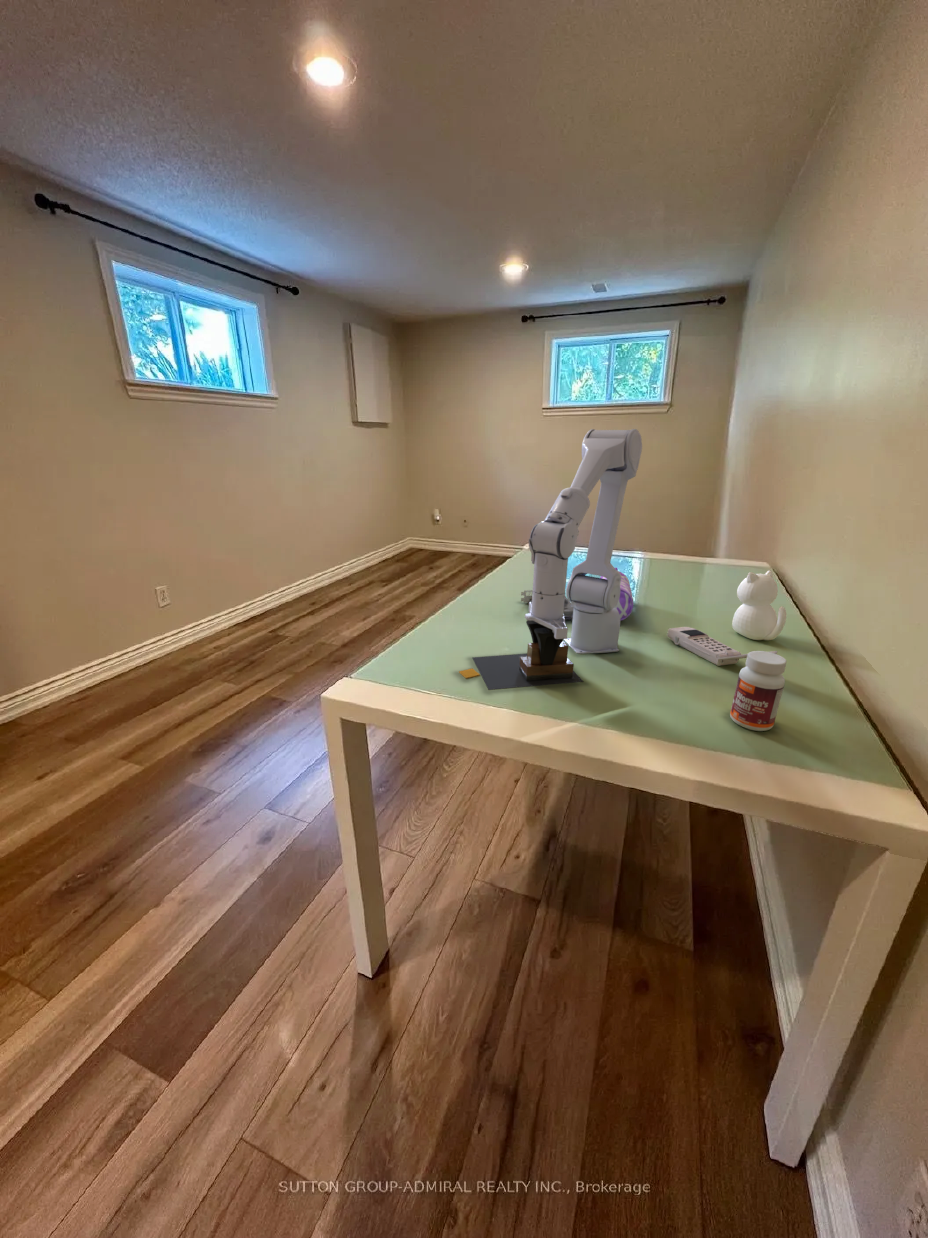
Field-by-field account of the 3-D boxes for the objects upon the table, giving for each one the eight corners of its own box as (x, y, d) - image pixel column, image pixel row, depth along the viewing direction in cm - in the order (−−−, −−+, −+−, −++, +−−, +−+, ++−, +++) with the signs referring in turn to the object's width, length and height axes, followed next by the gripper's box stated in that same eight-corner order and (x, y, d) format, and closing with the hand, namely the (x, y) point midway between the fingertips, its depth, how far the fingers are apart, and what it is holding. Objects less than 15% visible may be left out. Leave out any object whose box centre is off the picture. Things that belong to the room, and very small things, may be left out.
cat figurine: (746, 625, 120) (759, 565, 115) (794, 644, 109) (811, 578, 104) (718, 629, 117) (730, 568, 112) (764, 649, 106) (781, 582, 101)
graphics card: (520, 589, 135) (563, 588, 135) (520, 602, 136) (562, 600, 137) (532, 610, 119) (581, 608, 120) (532, 624, 120) (580, 622, 121)
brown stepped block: (563, 667, 95) (566, 638, 93) (572, 677, 91) (575, 648, 89) (518, 670, 93) (521, 641, 91) (526, 680, 89) (528, 650, 87)
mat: (555, 653, 103) (555, 651, 103) (583, 683, 90) (583, 681, 90) (472, 659, 99) (472, 657, 99) (488, 691, 87) (488, 689, 86)
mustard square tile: (472, 670, 94) (472, 668, 94) (480, 677, 92) (480, 674, 92) (458, 674, 93) (458, 671, 93) (465, 680, 91) (466, 677, 90)
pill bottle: (725, 722, 78) (739, 657, 74) (734, 707, 82) (748, 645, 78) (769, 737, 74) (786, 669, 70) (776, 720, 79) (793, 656, 75)
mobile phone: (755, 655, 88) (662, 611, 110) (748, 684, 90) (657, 635, 112) (780, 652, 90) (683, 609, 112) (772, 680, 92) (679, 633, 114)
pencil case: (594, 596, 141) (597, 564, 137) (627, 599, 139) (632, 567, 135) (595, 622, 120) (599, 585, 117) (634, 626, 118) (640, 588, 115)
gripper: (515, 580, 93) (511, 646, 97) (541, 604, 79) (536, 679, 84) (550, 579, 94) (545, 644, 99) (582, 602, 81) (574, 676, 85)
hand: (543, 660), depth 91 cm, fingers closed on brown stepped block, 2 cm apart
